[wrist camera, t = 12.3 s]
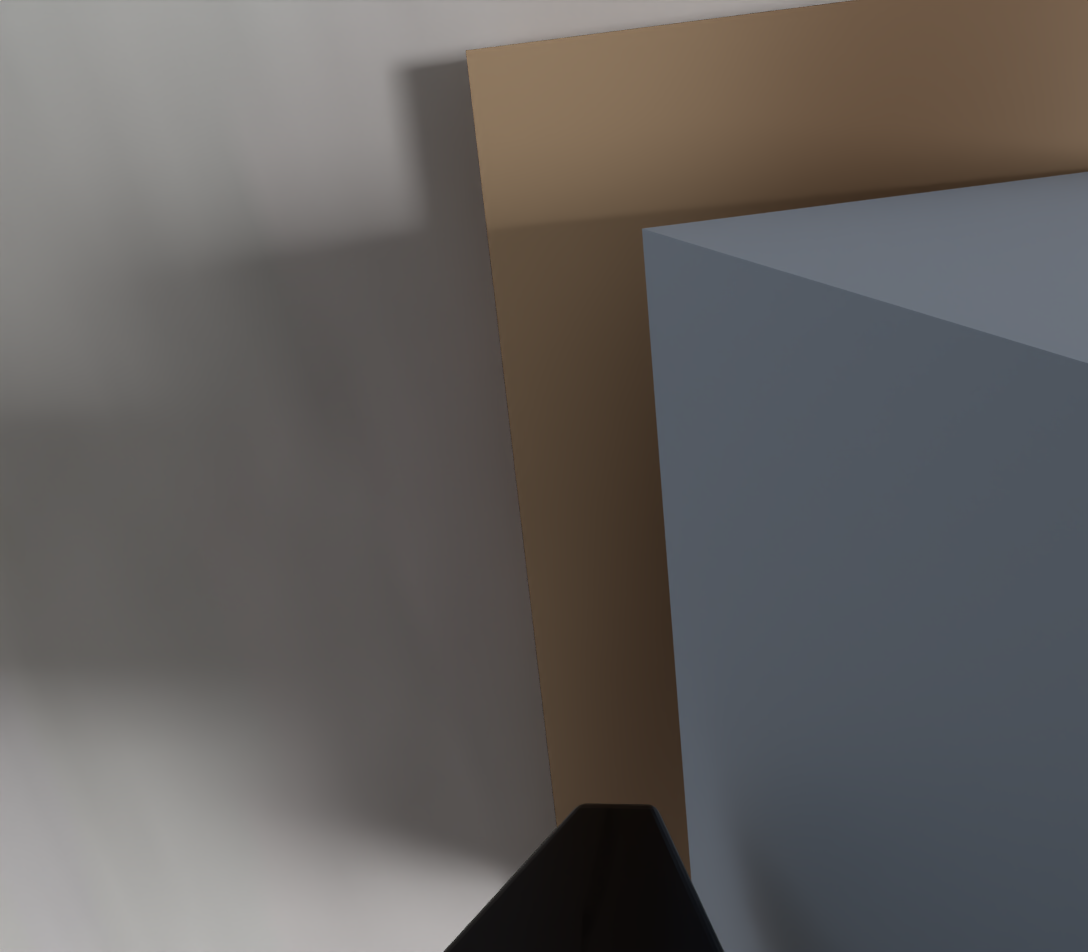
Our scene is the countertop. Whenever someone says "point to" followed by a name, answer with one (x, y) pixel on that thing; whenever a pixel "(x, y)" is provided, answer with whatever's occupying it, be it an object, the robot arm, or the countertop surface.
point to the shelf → (620, 282)
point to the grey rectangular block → (881, 566)
